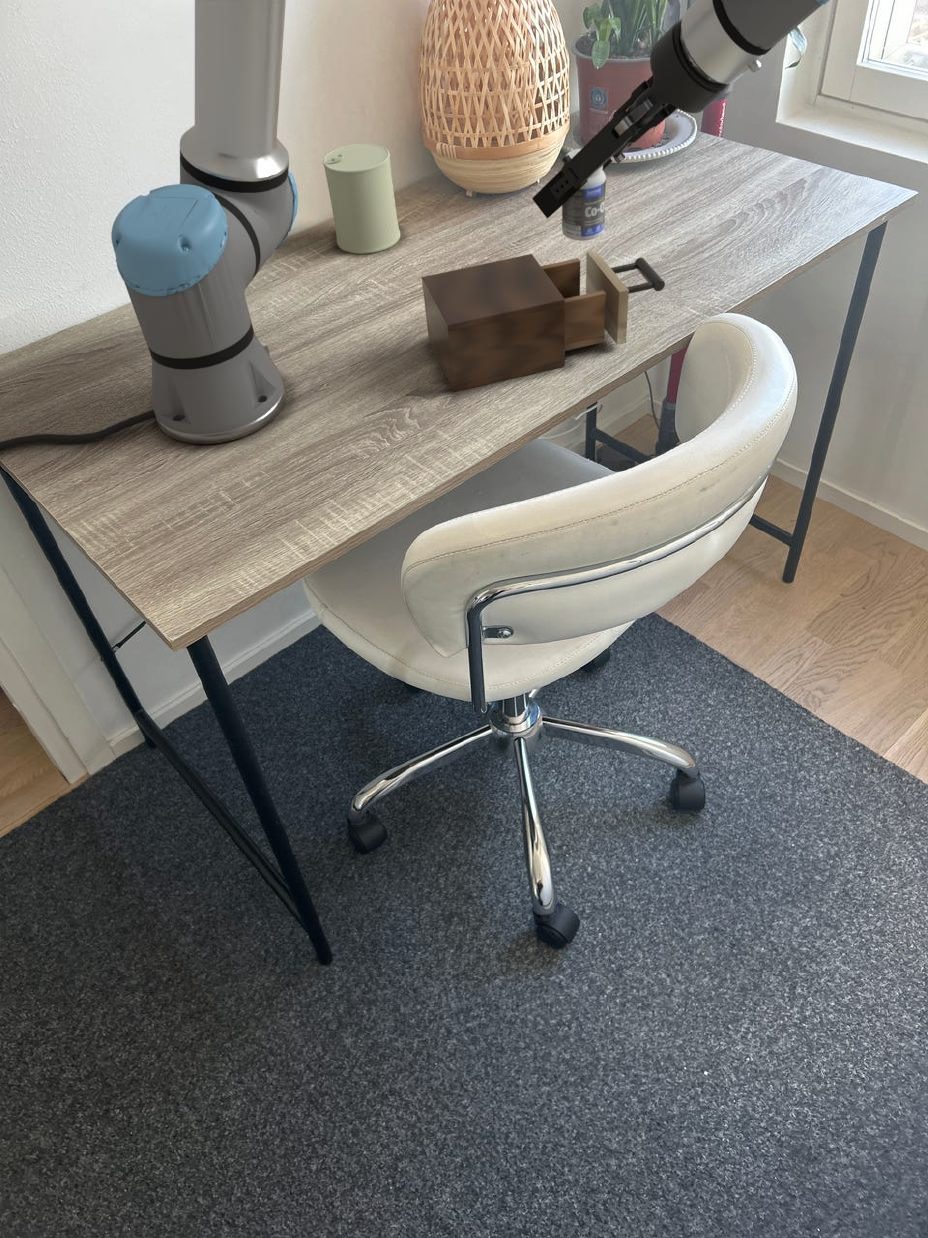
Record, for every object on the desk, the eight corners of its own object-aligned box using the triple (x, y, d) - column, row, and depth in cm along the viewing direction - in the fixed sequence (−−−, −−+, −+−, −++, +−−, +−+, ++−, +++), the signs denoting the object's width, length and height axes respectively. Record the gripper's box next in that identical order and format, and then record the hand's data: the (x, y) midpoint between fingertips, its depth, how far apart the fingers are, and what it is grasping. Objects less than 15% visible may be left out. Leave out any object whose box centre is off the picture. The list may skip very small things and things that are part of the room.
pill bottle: (589, 245, 107) (591, 167, 101) (554, 235, 110) (552, 159, 103) (612, 227, 110) (615, 150, 104) (577, 218, 112) (577, 142, 106)
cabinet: (533, 318, 123) (531, 253, 116) (565, 366, 115) (565, 299, 109) (429, 341, 121) (421, 276, 115) (454, 392, 113) (447, 325, 107)
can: (330, 231, 143) (315, 147, 134) (391, 218, 145) (380, 134, 136) (344, 259, 137) (329, 172, 128) (407, 245, 138) (396, 158, 130)
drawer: (635, 292, 123) (638, 240, 118) (669, 332, 116) (674, 279, 111) (499, 322, 121) (496, 270, 116) (525, 365, 114) (524, 312, 109)
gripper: (688, 121, 86) (533, 259, 105) (768, 54, 95) (612, 192, 115) (637, 47, 84) (489, 201, 104) (723, -14, 94) (573, 138, 113)
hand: (554, 196), depth 109 cm, fingers closed on pill bottle, 5 cm apart
